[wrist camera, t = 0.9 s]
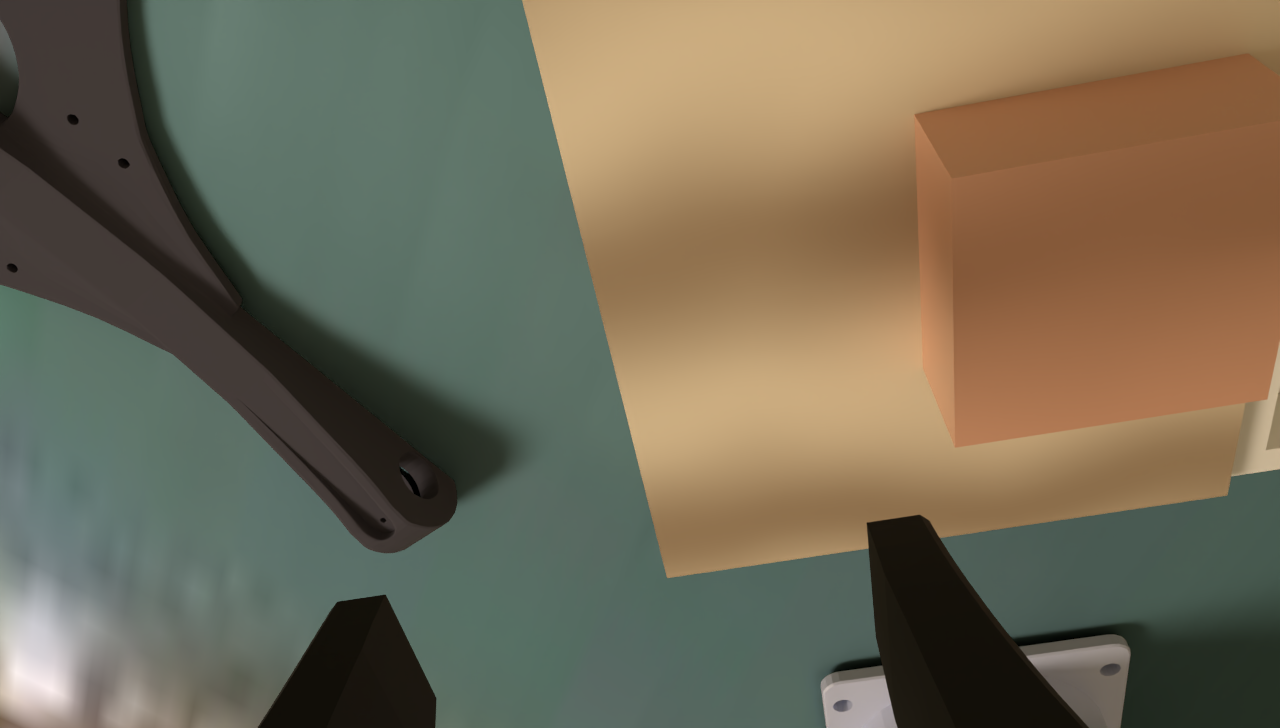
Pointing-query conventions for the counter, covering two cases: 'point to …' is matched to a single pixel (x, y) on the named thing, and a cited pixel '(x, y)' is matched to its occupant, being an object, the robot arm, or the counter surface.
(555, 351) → the counter surface
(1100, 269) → the tile
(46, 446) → the counter surface
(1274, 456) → the tray
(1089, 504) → the large beige panel
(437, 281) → the counter surface
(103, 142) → the bracket
